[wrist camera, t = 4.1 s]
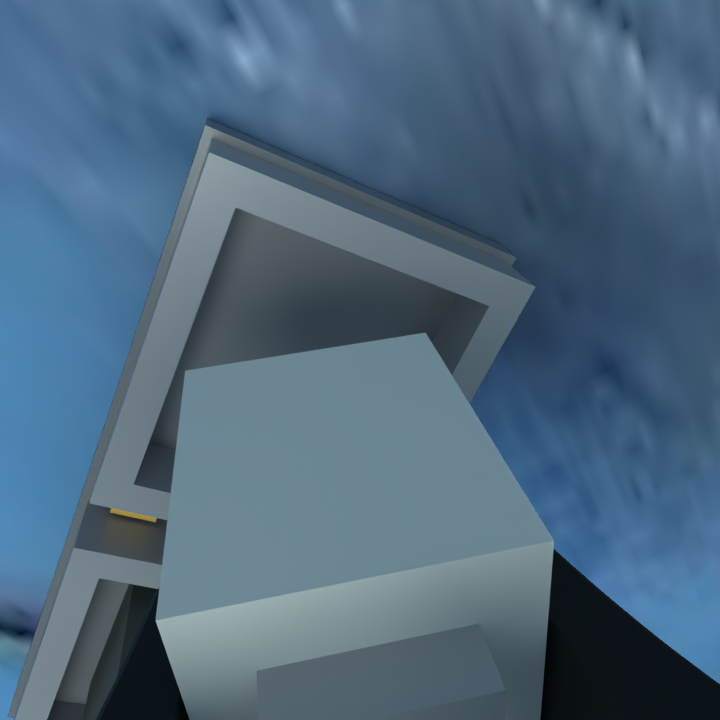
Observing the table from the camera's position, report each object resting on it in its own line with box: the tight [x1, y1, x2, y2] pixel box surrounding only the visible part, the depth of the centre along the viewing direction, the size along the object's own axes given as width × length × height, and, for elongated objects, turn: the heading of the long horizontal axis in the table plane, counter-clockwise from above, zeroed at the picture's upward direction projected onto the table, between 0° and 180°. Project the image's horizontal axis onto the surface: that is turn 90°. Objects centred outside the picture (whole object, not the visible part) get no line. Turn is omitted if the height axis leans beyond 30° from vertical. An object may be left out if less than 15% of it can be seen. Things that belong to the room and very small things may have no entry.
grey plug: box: [156, 333, 554, 720], centre depth 9 cm, size 4×5×6 cm
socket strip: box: [7, 118, 535, 720], centre depth 18 cm, size 8×19×3 cm, turn 155°
